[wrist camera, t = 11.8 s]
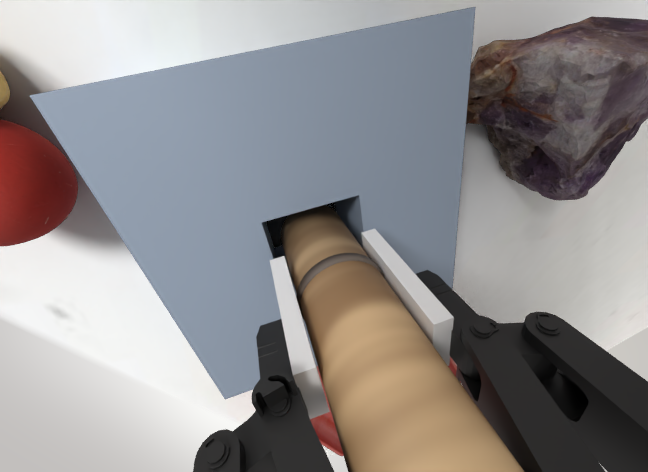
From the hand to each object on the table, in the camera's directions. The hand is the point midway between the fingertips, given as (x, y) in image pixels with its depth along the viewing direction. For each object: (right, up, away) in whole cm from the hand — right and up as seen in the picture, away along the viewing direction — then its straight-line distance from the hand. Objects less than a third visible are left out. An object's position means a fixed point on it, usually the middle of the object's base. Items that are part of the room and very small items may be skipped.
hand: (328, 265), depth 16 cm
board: (-2, +4, +6) cm, 8 cm away
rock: (+14, +12, +7) cm, 20 cm away
